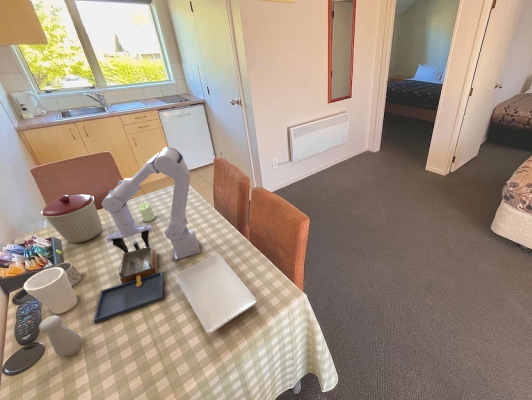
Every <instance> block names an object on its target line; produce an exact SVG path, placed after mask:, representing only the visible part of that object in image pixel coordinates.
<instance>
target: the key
mask: <svg viewBox="0 0 532 400" xmlns="http://www.w3.org/2000/svg"><path fill="white" fill-rule="evenodd" d="M136 278H137V283H136V286H137V287H140V286H141V285H142V282H141V275H138V276H136Z"/></svg>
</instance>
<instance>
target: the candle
mask: <svg viewBox="0 0 532 400" xmlns="http://www.w3.org/2000/svg"><path fill="white" fill-rule="evenodd" d="M138 210H139V212H140V215H141V217H142V220H143V221H144V222H151V221H153V220H154V219H155V218H156V216H155V214H154V210H153V208H152V205H151V204H150V202H148V201H145V202H142V203H141V204H140V205H139V206H138Z"/></svg>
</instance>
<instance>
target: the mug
mask: <svg viewBox="0 0 532 400" xmlns="http://www.w3.org/2000/svg"><path fill="white" fill-rule="evenodd" d="M54 267H60V268H62V269H64V271H65V272H66V274H67V277H68V280H69V282H70V284H71V287H73V286H75V285H76V284H78V283H79V282H80V281H81V279H82V275H81V274H80V273H79V271H78V270H77V269H76V267H75V266H74V263H73V262H71V261H65V262H61V263H59V264H57V265H54Z"/></svg>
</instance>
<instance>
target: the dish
mask: <svg viewBox="0 0 532 400" xmlns="http://www.w3.org/2000/svg"><path fill="white" fill-rule="evenodd" d="M133 247H134V249H131V250H128V252H122V254H121V257H120V258H121V259H120V264H119V269H118V275H119V278H120V277H121V278H125V277H128V276H131V275H135V274H138V273H141V272H144V271H148V270H151V269H153V253H154V250H155V249H154V247H153V245H152V244H149V246H147V247H146V246H143V247H140V245H139V243H138V241H137V240H135V241H133Z"/></svg>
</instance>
